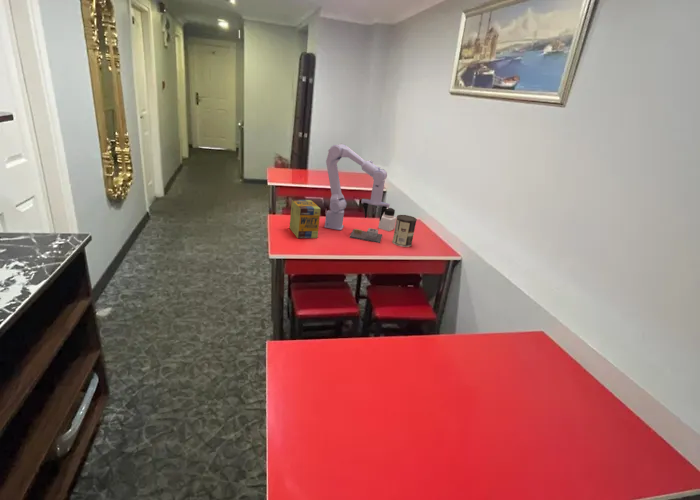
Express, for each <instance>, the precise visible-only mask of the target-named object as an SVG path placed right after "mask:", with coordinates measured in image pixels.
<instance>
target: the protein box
mask: <svg viewBox="0 0 700 500" xmlns="http://www.w3.org/2000/svg"><path fill="white" fill-rule="evenodd" d="M290 205H291V206H290V217H289V218H290V220H289V229H290V231H291V232H292V233H293V234H294V235H295V237H296V238H297V239H317V238H319V237H318V235H319V229H320V228H319V226H320V219H321V217H320V216H321V207H319V206H318V204H316V203H315V202H314V201H312V200H311V199H291V204H290Z"/></svg>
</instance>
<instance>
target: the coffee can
mask: <svg viewBox="0 0 700 500" xmlns="http://www.w3.org/2000/svg"><path fill="white" fill-rule="evenodd" d="M417 220H418V219H417V218H416V217H414V216H411V215H408V214H397V216H396V223H395V228H394V229H393V230H394V231H393V237H392V241H391V242H392V244H394V245H396V246H398V247H403V248H410V247H412V246H413V245H412V243H413V239H414V233H415V230H416V229H415V228H416V225H417Z"/></svg>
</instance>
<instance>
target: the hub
mask: <svg viewBox="0 0 700 500" xmlns="http://www.w3.org/2000/svg"><path fill="white" fill-rule="evenodd" d="M366 232H367V236H366V237H369V238H374V239H376V238H377V235H378V234H379V229H377V228H371V227H368V228H367V231H366Z"/></svg>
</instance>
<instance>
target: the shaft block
mask: <svg viewBox="0 0 700 500" xmlns="http://www.w3.org/2000/svg"><path fill="white" fill-rule="evenodd" d="M366 236H367V231H365V230H362V229H359V228H354V229H353V230H352V231H351V233H350V234H349V239H355V240H360V241H361V240H362V241H365V242H371V243H378V244H381V241H382V239H383V234H382V233H378V235H377V238H376V239H374V238H369V237H366Z"/></svg>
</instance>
